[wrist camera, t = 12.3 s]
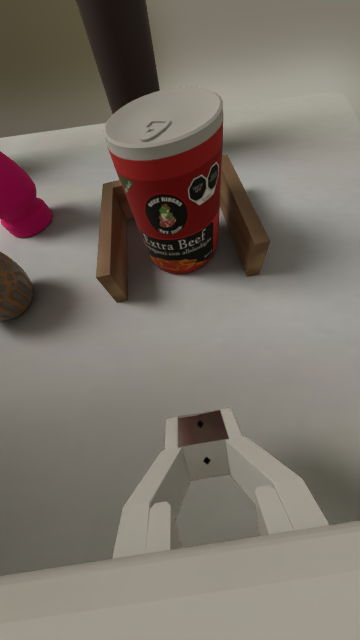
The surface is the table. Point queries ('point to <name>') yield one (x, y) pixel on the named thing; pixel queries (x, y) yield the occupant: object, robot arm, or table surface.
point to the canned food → (171, 172)
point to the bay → (117, 209)
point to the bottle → (121, 48)
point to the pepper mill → (20, 201)
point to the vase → (13, 289)
